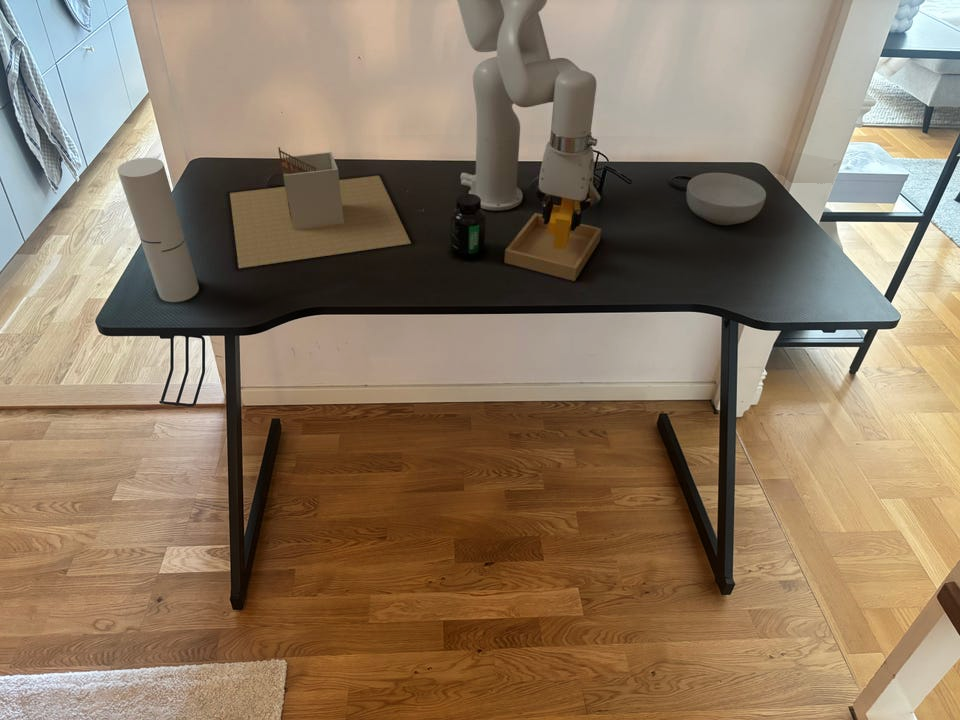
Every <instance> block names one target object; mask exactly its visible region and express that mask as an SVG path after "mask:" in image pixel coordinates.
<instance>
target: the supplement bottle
mask: <svg viewBox="0 0 960 720" xmlns="http://www.w3.org/2000/svg"><path fill="white" fill-rule="evenodd" d="M455 201H456V203H455V209H454V210H453V211H452V213H451V215H450V217H451V218H450V229H451V230H450V233H451V234H450V238H451V239H450V243H451V244H450V248H451V249H450V250H451V252H452V254H453V256H455V257H456V258H457V259H460V260H468V261H469V260H475V259H478V258H480V257H481V256H482V255H483V254H484V253H485V239H486V213H485V212H484V209H482V208H481V199H480V198H479V197H478V196H477V195H474V194H469V193H463V194H460V195H458V196H457V197H456V199H455Z"/></svg>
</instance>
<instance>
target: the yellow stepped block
mask: <svg viewBox="0 0 960 720" xmlns="http://www.w3.org/2000/svg"><path fill="white" fill-rule="evenodd" d="M574 210H575V208H574V203H573V200H572V199H567V198H562V197H561V204H560V205H557V204H553V208H552V212H551V217H550V222H549V230H548V234H555V235H554V246H553V248H555V249H564V250H566V249H567V244H568V240H569V235H570V231H571V220H572V214H573V212H574Z"/></svg>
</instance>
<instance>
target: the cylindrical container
mask: <svg viewBox="0 0 960 720" xmlns="http://www.w3.org/2000/svg"><path fill="white" fill-rule="evenodd" d="M117 175H118V177H119V180H120V183H121V185H122V189H123V192H124V195H125V197H126V201H127V204H128V207H129V210H130V213H131V216H132V219H133V222H134V225H135V228H136V230H137V235H138V237H139V240H140V242H141V245H142V249H143V252H144V254H145V258H146V261H147V264H148V267H149V270H150V273H151V276H152V279H153V282H154V285H155V288H156V290H157V293H158V297H159V299H161V300H163V301H164V302H168V303H180V302H184V301H187V300H190V299H192V298H193V297H195V296H196V295H197V294H198V293H199V289H200V288H199V287H200V286H199V283H198V279H197V276H196V273H195V269H194V265H193V262H192V258H191V255H190V251H189V247H188V245H187V241H186V238H185V234H184V230H183V227H182V224H181V220H180V217H179V213H178V209H177V205H176V202H175V199H174V195H173V191H172V188H171V185H170V182H169V178H168V175H167V171H166V167H165V165H164V162H163V160H161V159H158V158H155V157H138V158H133V159H130V160H127V161H125V162H123V163H121V164H119V166H118V167H117Z"/></svg>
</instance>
